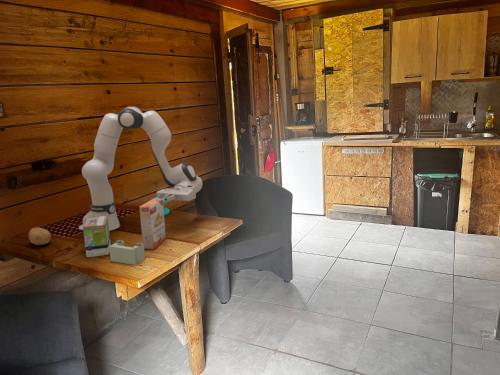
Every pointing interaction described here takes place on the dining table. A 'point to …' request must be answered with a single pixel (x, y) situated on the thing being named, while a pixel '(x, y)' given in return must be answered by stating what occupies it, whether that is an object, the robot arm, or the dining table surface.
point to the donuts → (166, 210)
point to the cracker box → (152, 223)
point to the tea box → (96, 236)
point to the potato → (39, 236)
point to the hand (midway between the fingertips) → (165, 199)
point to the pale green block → (127, 253)
